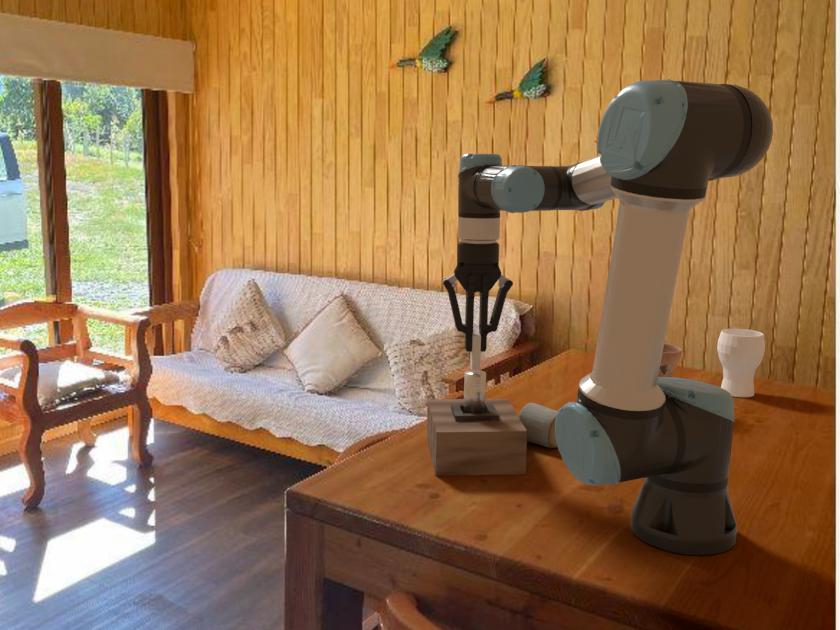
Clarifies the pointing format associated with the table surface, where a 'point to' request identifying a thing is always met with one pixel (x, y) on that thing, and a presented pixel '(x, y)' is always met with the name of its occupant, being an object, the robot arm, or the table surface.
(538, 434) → the ceramic mug
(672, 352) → the ceramic jug
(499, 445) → the socket block
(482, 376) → the peg
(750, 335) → the cup
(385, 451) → the table surface
